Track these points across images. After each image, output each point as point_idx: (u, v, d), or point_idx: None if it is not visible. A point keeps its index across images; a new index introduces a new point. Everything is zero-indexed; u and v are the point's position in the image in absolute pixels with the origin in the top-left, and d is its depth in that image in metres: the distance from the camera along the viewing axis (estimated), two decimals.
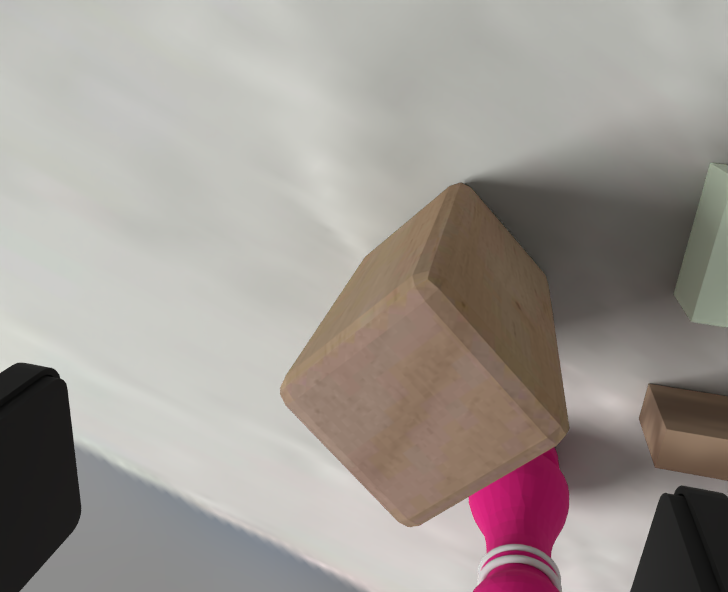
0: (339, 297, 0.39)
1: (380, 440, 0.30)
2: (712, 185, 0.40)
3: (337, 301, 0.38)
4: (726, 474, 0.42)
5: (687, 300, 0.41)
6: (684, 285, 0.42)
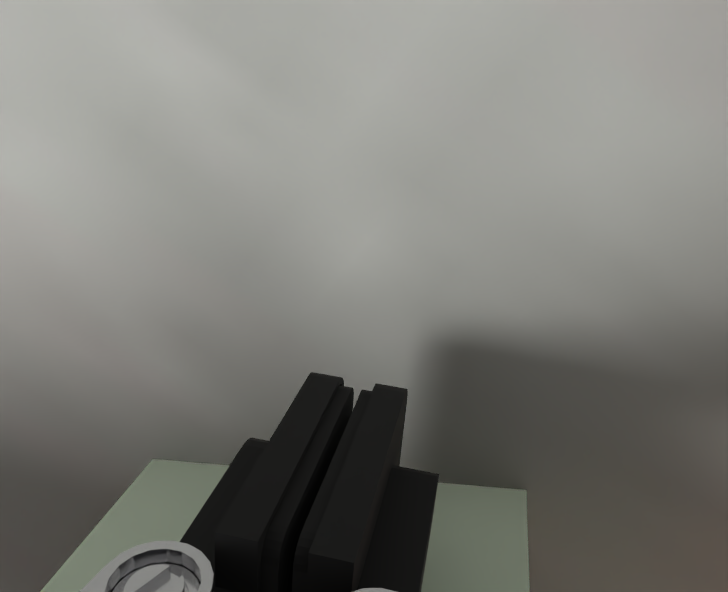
0: None
1: None
2: None
3: None
4: None
5: None
6: None
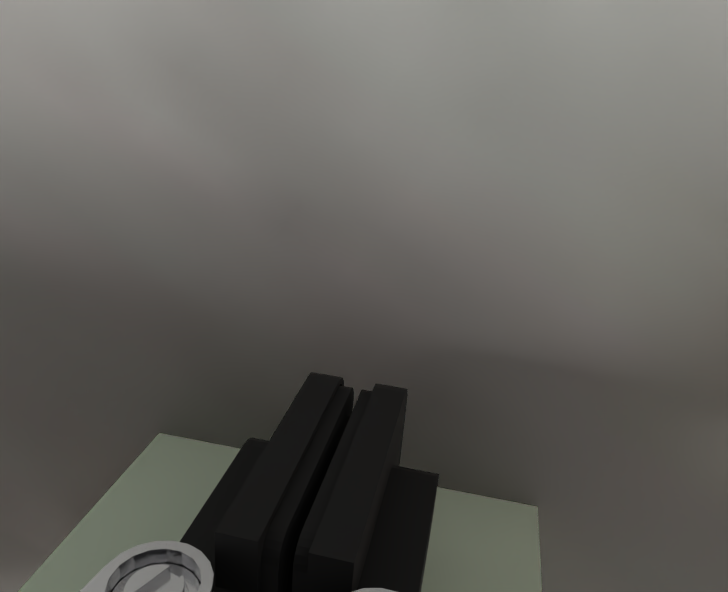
0: None
1: None
2: None
3: None
4: None
5: None
6: None
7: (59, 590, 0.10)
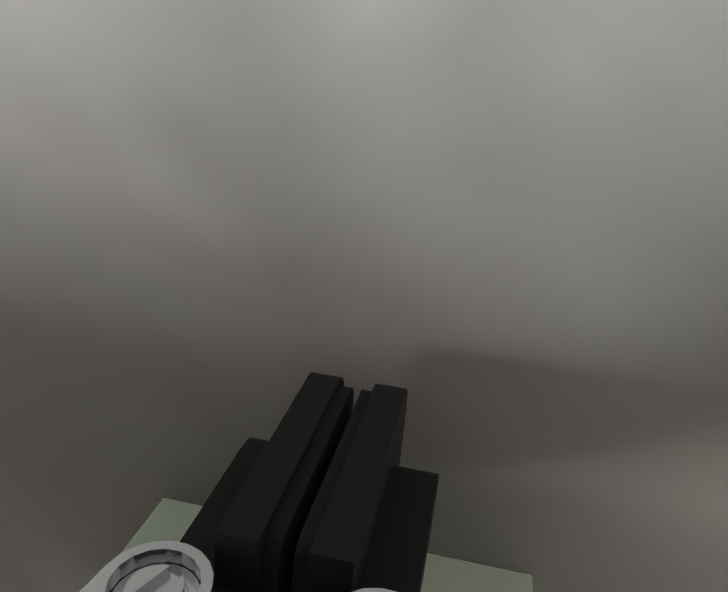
0: None
1: None
2: None
3: None
4: None
5: None
6: None
7: None
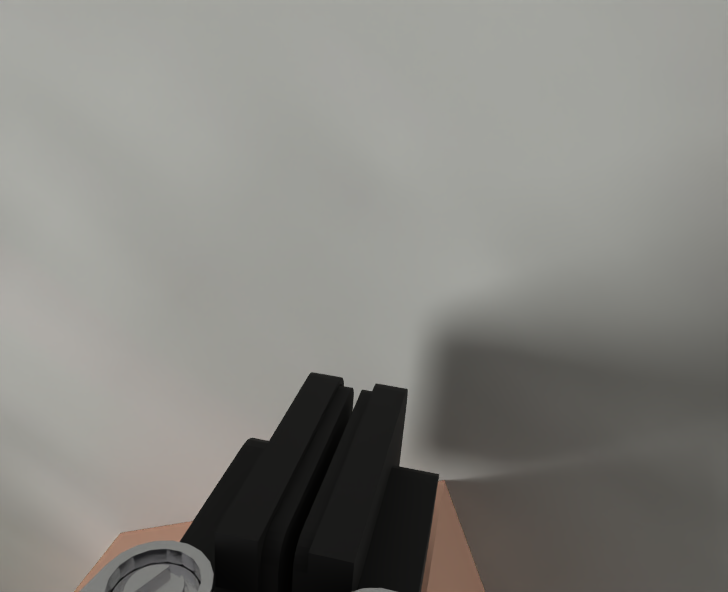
0: None
1: None
2: None
3: None
4: None
5: None
6: None
7: None
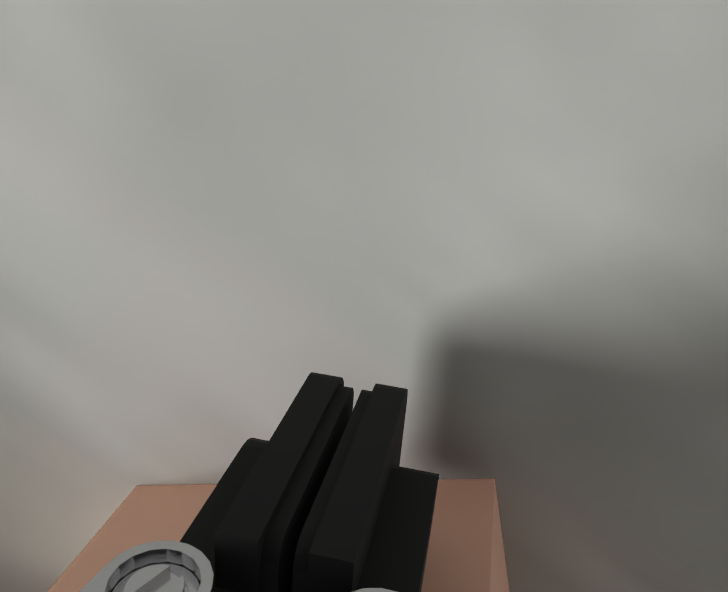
0: None
1: None
2: None
3: None
4: None
5: None
6: None
7: None
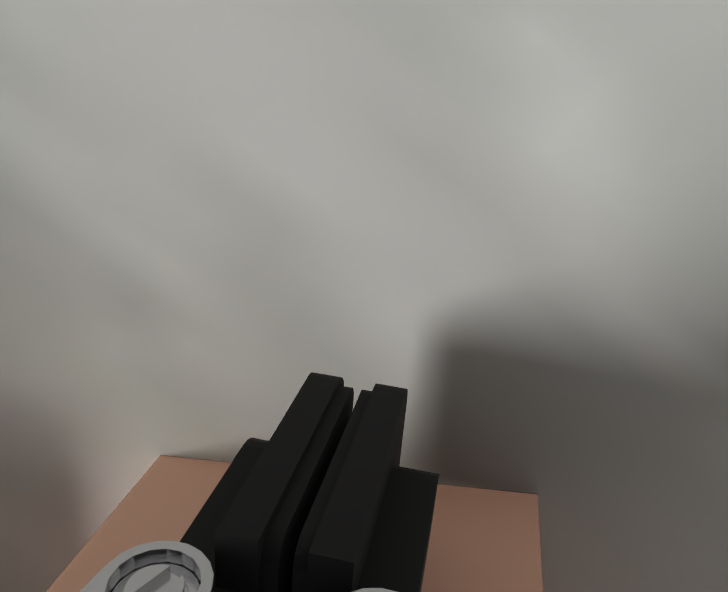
0: None
1: None
2: None
3: None
4: None
5: None
6: None
7: None
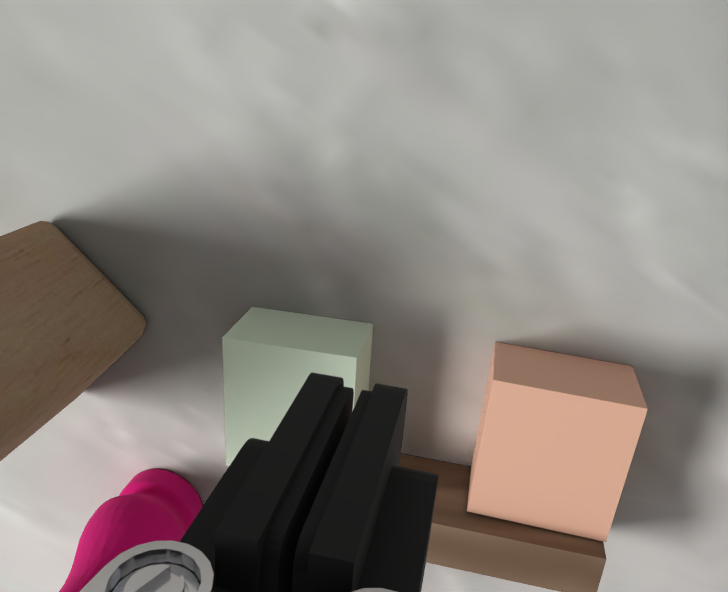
0: None
1: None
2: None
3: None
4: None
5: None
6: None
7: (235, 334, 0.38)
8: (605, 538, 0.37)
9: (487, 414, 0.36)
